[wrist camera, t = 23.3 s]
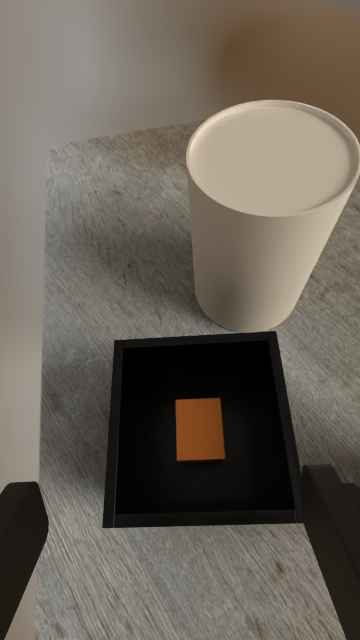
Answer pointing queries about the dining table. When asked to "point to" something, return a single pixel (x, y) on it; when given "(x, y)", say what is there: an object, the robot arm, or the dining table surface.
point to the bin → (238, 430)
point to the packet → (199, 431)
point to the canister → (264, 206)
